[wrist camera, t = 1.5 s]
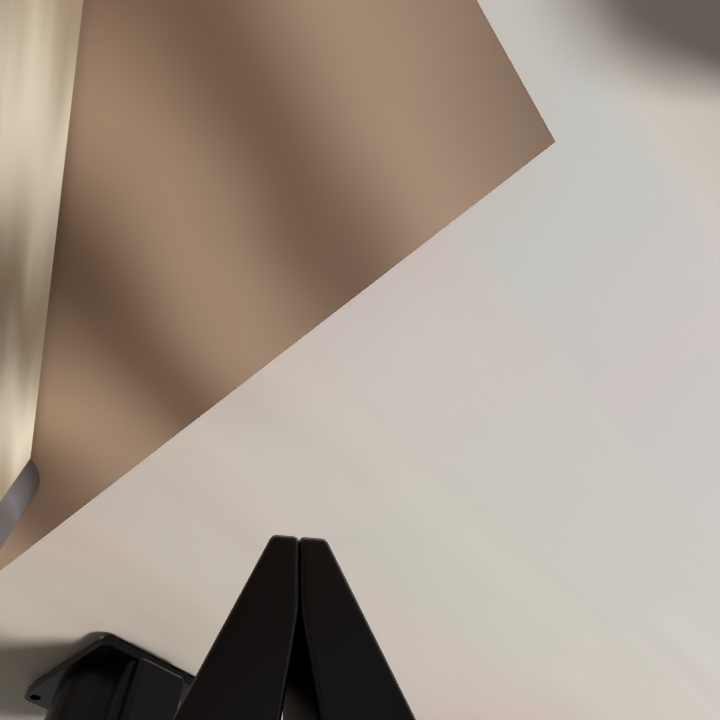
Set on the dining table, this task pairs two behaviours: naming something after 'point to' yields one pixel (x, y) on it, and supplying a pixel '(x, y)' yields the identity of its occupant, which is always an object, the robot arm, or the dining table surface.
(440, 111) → the stool seat
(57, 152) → the hinged leg
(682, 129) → the dining table surface
